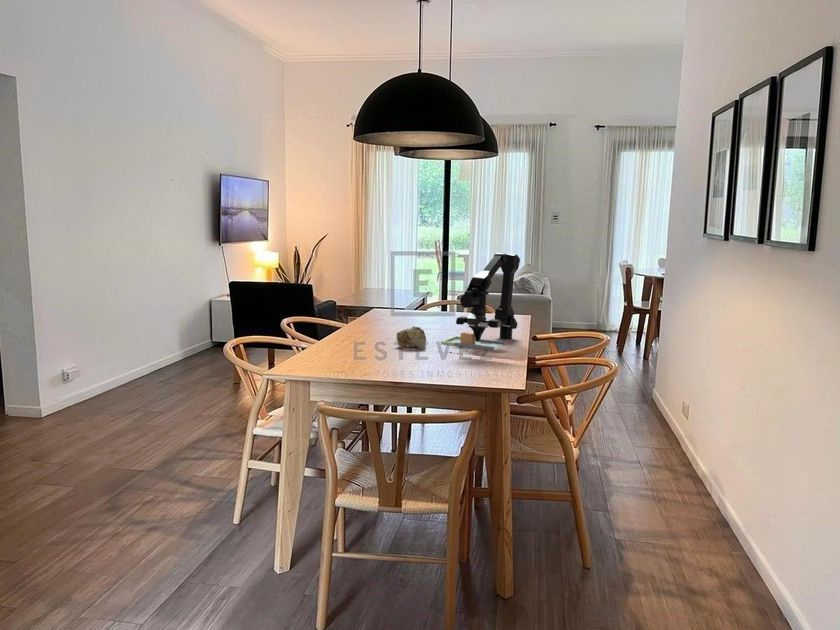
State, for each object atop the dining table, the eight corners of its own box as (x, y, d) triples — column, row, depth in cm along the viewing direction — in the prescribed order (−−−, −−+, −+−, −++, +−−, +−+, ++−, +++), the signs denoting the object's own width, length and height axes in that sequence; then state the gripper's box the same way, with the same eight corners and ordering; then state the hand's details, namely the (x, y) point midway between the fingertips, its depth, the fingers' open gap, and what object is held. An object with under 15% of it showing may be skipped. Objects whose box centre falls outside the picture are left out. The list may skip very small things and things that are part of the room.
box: (454, 341, 283) (454, 335, 282) (505, 347, 272) (505, 341, 272) (440, 347, 270) (440, 341, 269) (493, 353, 259) (493, 347, 259)
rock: (430, 343, 270) (423, 322, 268) (427, 348, 264) (419, 326, 262) (405, 350, 274) (397, 328, 272) (401, 355, 268) (393, 333, 266)
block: (464, 341, 275) (464, 331, 274) (475, 343, 272) (475, 332, 272) (460, 343, 270) (460, 333, 269) (471, 344, 268) (471, 334, 267)
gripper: (451, 306, 264) (450, 342, 266) (493, 309, 256) (492, 347, 258) (461, 303, 274) (460, 338, 276) (502, 306, 266) (500, 342, 268)
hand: (477, 341), depth 269 cm, fingers closed
